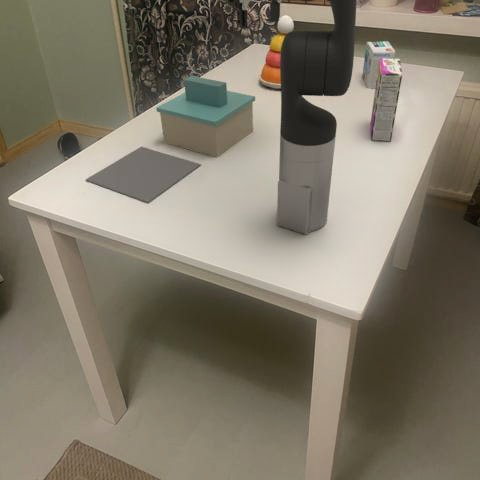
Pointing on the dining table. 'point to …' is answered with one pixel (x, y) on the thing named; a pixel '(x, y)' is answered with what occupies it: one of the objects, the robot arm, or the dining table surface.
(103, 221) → the dining table surface
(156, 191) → the rubber mat
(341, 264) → the dining table surface
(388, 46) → the light bulb box
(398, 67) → the candy bar box
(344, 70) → the robot arm
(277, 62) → the stacking toy
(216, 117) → the lid
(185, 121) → the storage box
